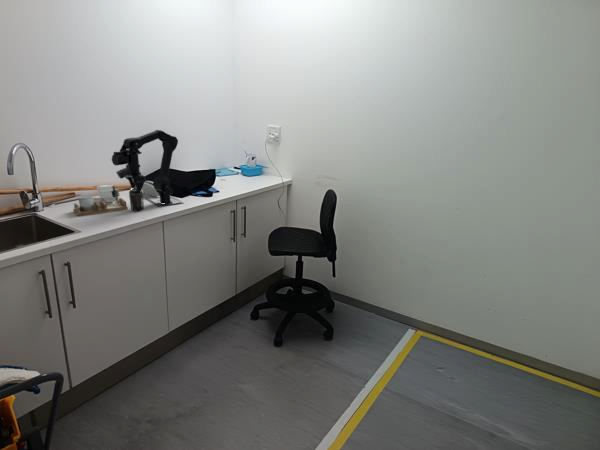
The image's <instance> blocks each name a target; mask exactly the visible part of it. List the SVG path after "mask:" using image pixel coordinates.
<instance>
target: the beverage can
mask: <svg viewBox="0 0 600 450" xmlns="http://www.w3.org/2000/svg"><path fill="white" fill-rule="evenodd" d="M128 191H129V192H128V197H129V205H130V210H131V211H133V212H141V211H143V210H144V209H145V206H144V205H145V204H144V203H145V201H144V195H143V194H144V193H143V190H142V189H141V192H140V193H139V194H138V193H137V190H136V187H135V188H131V187H130V189H129V190H128Z"/></svg>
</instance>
